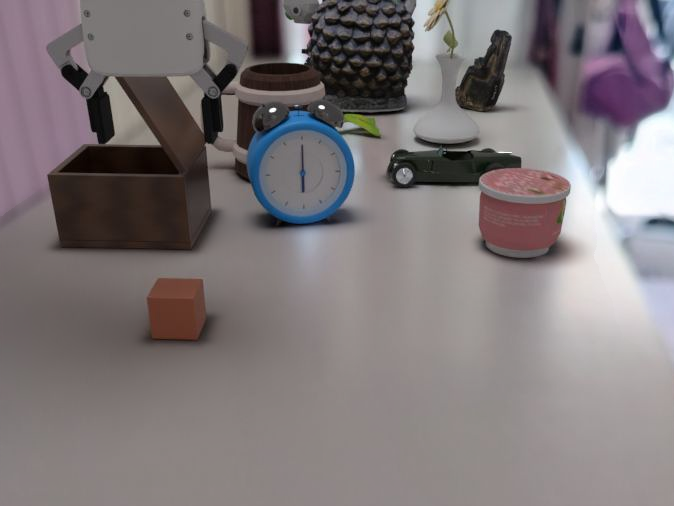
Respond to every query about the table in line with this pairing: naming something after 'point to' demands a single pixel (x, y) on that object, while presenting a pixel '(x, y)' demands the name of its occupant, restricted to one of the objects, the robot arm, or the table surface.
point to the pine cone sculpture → (363, 52)
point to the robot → (301, 15)
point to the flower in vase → (446, 94)
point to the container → (521, 210)
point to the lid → (166, 118)
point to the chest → (129, 198)
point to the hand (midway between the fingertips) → (159, 140)
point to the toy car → (447, 165)
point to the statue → (485, 75)
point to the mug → (266, 100)
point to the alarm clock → (300, 161)
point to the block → (176, 308)
